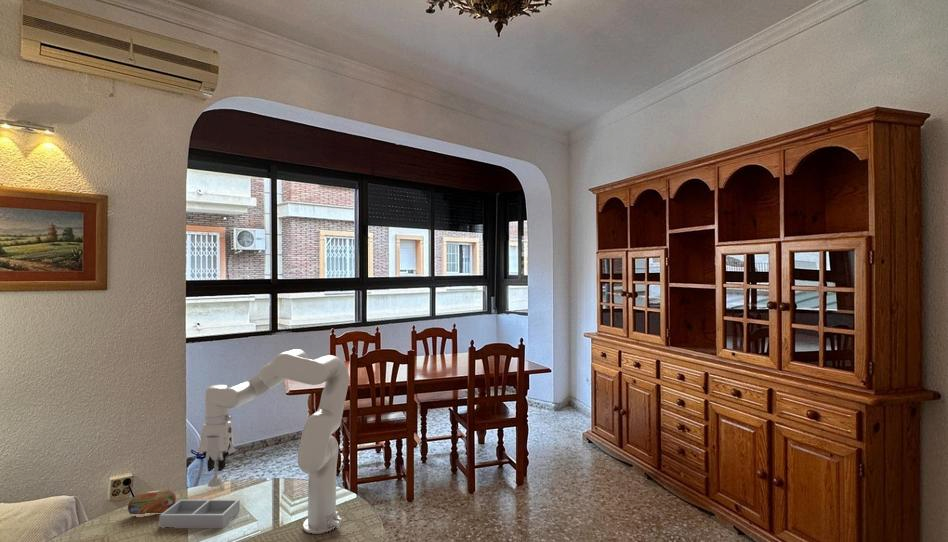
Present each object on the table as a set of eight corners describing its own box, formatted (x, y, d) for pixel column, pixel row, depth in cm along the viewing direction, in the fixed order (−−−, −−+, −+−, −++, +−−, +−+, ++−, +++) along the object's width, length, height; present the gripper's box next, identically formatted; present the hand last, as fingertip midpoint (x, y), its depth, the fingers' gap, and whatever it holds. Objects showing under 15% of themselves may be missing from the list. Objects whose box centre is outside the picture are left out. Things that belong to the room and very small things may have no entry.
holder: (239, 511, 173) (239, 499, 173) (222, 528, 162) (222, 515, 162) (180, 511, 173) (180, 499, 173) (159, 528, 162) (159, 515, 162)
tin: (127, 519, 168) (127, 495, 168) (131, 514, 171) (131, 492, 171) (173, 513, 172) (174, 490, 172) (176, 509, 175) (177, 487, 175)
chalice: (219, 488, 164) (220, 437, 164) (200, 488, 164) (201, 437, 165) (230, 479, 171) (231, 431, 172) (212, 479, 171) (213, 430, 172)
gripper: (244, 416, 172) (243, 465, 172) (200, 416, 172) (200, 465, 172) (233, 422, 165) (233, 474, 164) (188, 422, 164) (187, 474, 164)
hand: (216, 469), depth 168 cm, fingers closed on chalice, 3 cm apart
